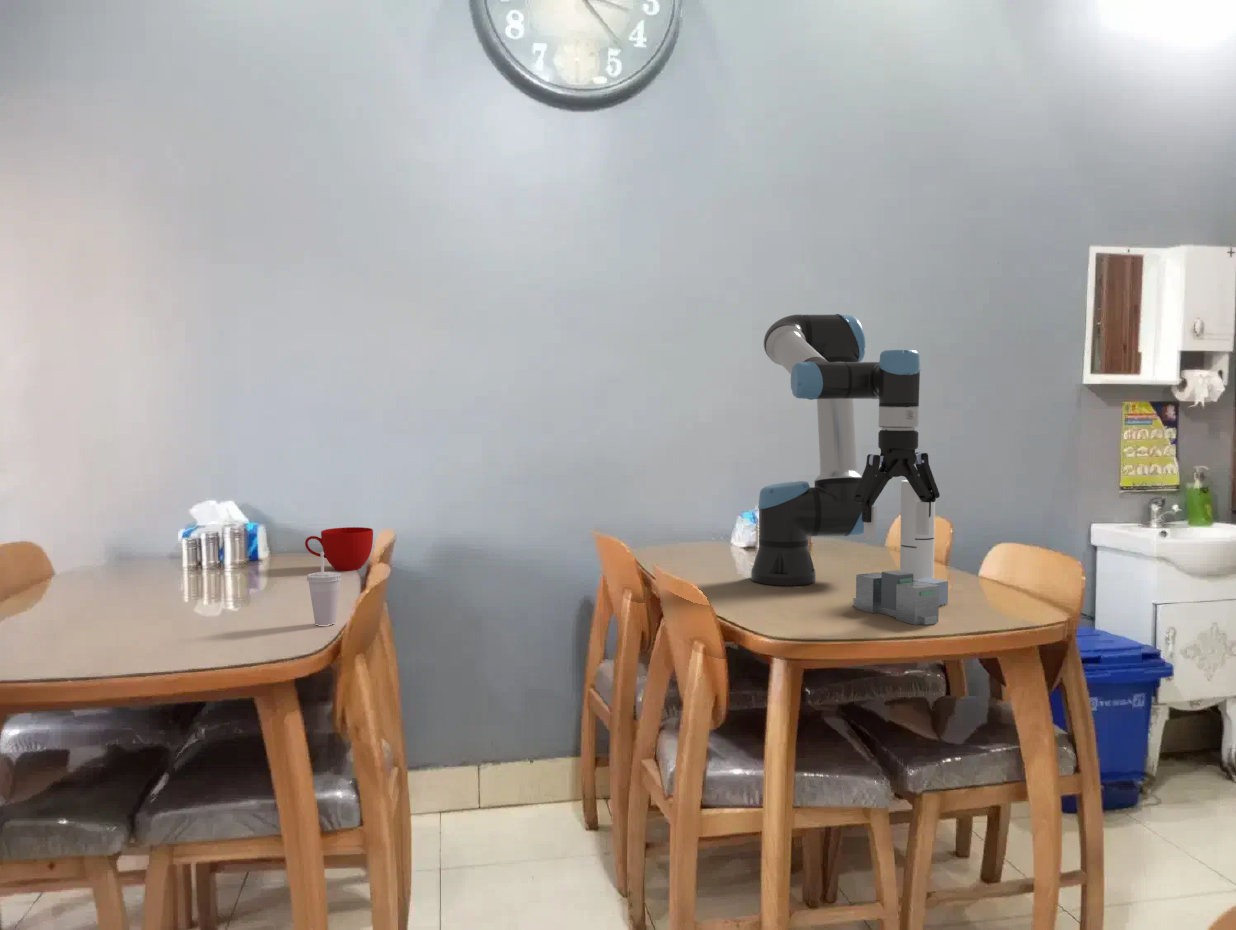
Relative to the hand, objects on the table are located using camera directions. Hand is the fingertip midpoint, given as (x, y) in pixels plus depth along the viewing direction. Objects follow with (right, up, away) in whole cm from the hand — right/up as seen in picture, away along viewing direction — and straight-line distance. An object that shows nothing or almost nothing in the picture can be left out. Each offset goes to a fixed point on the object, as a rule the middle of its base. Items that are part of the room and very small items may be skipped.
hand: (896, 536), depth 185 cm
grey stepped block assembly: (0, -16, +1) cm, 16 cm away
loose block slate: (+10, -15, +11) cm, 21 cm away
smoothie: (-111, -17, -5) cm, 113 cm away
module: (0, -14, 0) cm, 14 cm away
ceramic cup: (-127, -13, +57) cm, 140 cm away
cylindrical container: (+11, -15, +21) cm, 28 cm away
